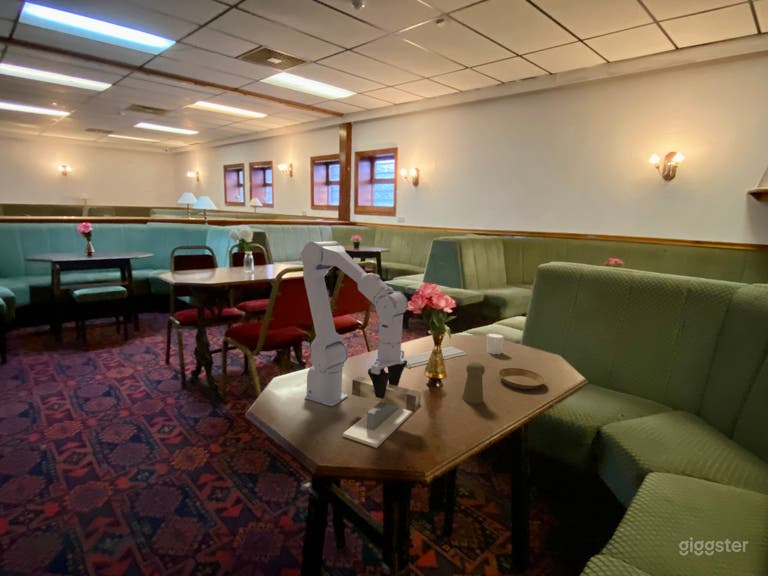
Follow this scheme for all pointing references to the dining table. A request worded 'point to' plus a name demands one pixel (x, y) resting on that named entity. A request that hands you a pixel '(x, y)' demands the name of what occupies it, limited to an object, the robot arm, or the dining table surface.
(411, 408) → the shiny metallic bar
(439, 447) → the dining table surface
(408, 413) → the ridge stand
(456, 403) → the dining table surface
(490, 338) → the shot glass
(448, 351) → the baseboard
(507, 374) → the plant saucer
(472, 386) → the pepper mill
